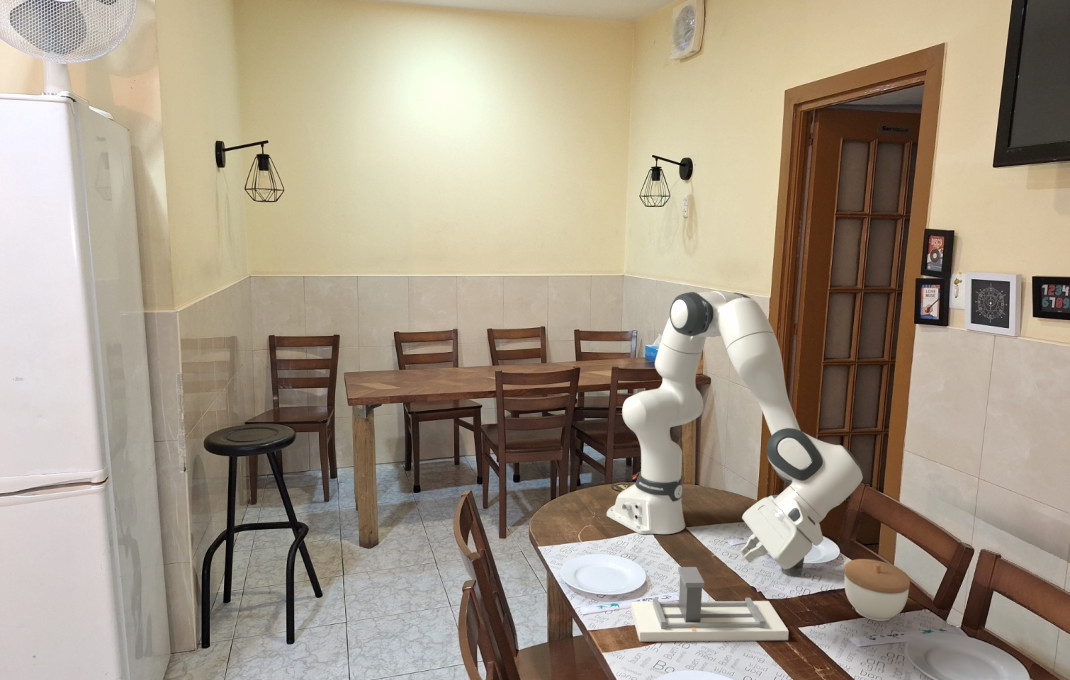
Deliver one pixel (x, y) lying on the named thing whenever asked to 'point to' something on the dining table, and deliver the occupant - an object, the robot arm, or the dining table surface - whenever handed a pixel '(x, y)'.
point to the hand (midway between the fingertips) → (744, 557)
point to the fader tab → (690, 593)
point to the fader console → (708, 621)
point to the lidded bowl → (876, 588)
